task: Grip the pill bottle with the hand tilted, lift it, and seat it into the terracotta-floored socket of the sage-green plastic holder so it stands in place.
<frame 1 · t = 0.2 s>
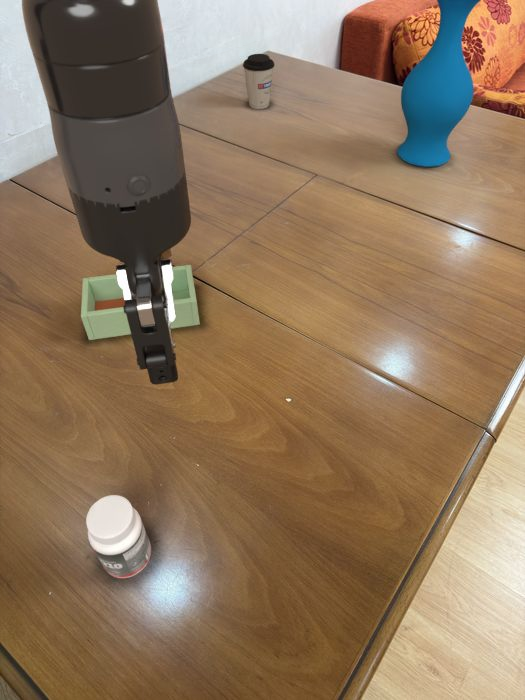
hand: (162, 342, 46), 18 cm above the table, tool pointing down, fingers open, 8 cm apart
holder: (143, 312, 76), on the table
vase: (422, 157, 106), on the table
coffee cup: (259, 105, 123), on the table
pill bottle: (127, 555, 52), on the table
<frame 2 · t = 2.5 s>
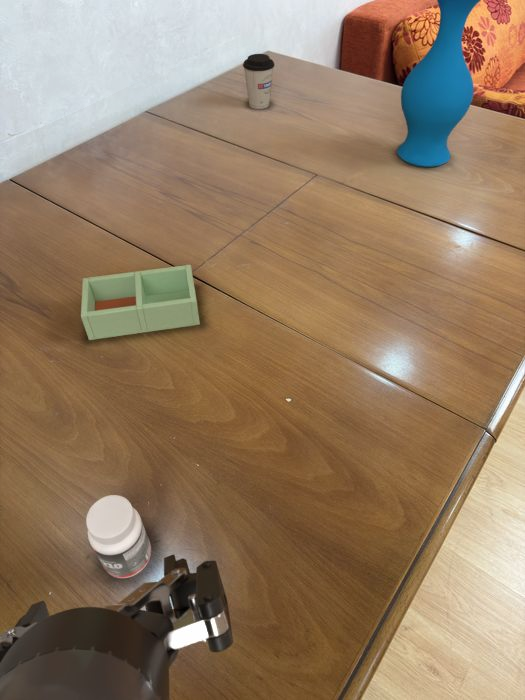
hand: (109, 592, 35), 15 cm above the table, tool tilted 40°, fingers open, 8 cm apart
nothing on the table moved.
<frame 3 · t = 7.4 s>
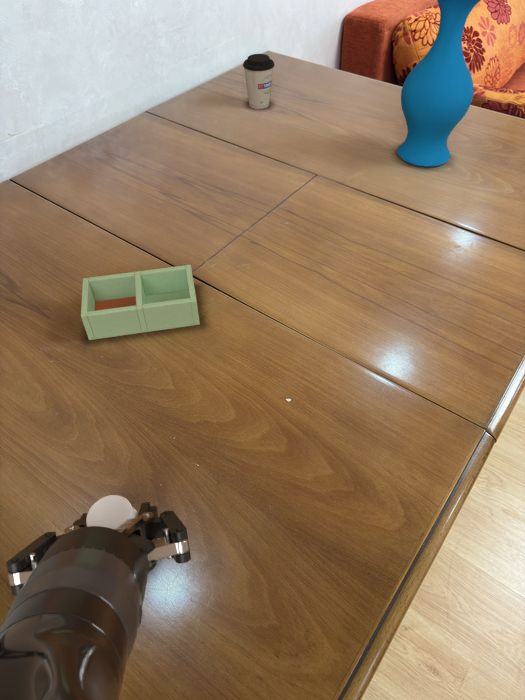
hand: (118, 517, 50), 4 cm above the table, tool tilted 45°, fingers closed on pill bottle, 4 cm apart
pill bottle: (127, 555, 52), on the table, touching gripper
everything else where it was.
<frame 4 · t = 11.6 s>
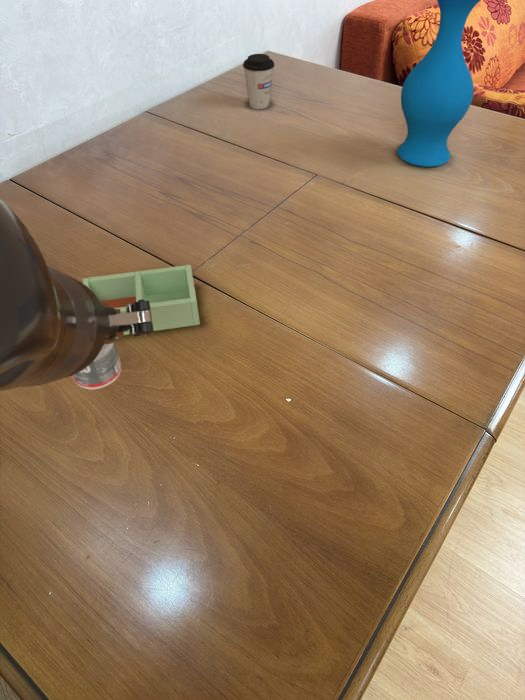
hand: (88, 329, 51), 16 cm above the table, tool tilted 45°, fingers closed on pill bottle, 4 cm apart
pill bottle: (98, 373, 53), point 12 cm above the table, touching gripper
everything else where it was.
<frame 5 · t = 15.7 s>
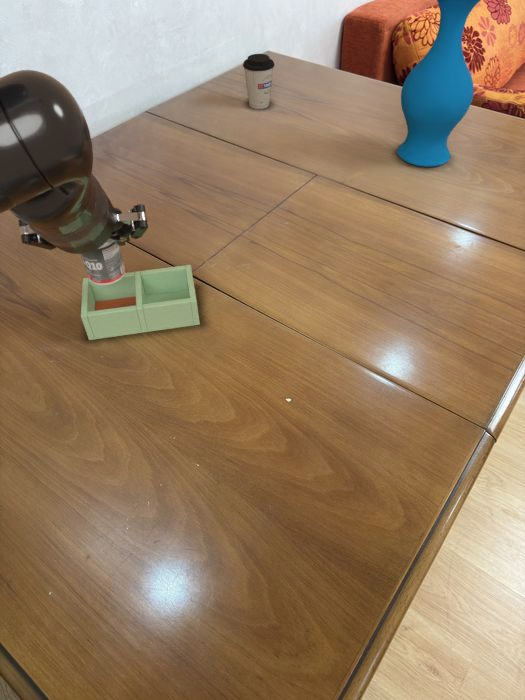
hand: (100, 240, 68), 12 cm above the table, tool tilted 45°, fingers closed on pill bottle, 4 cm apart
pill bottle: (107, 276, 70), point 7 cm above the table, touching gripper
everything else where it was.
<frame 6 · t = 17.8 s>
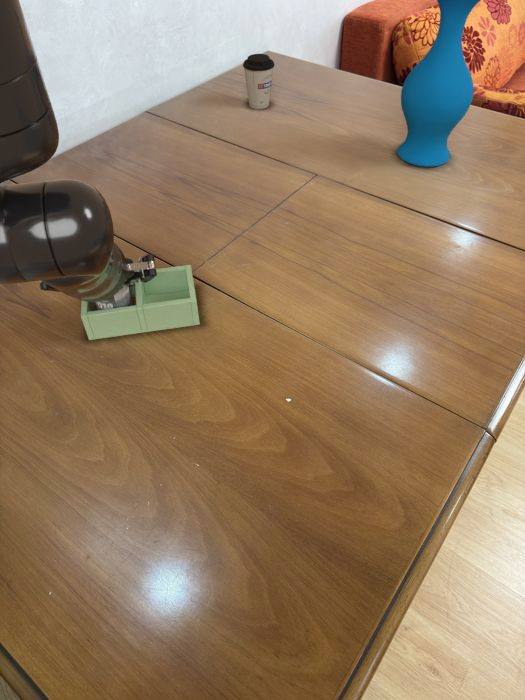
hand: (110, 281, 73), 5 cm above the table, tool tilted 45°, fingers closed on pill bottle, 4 cm apart
pill bottle: (117, 313, 74), point 1 cm above the table, touching gripper
everything else where it was.
when the fingers open (6 cm above the table, at t = 24.4 s): pill bottle drops 1 cm, resting on holder.
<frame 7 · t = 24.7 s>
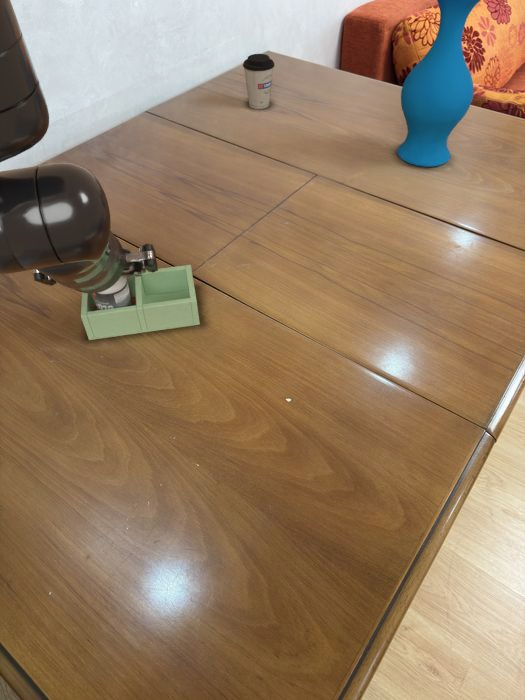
hand: (107, 272, 71), 7 cm above the table, tool tilted 45°, fingers open, 7 cm apart
pill bottle: (117, 315, 75), resting on holder
everything else where it was.
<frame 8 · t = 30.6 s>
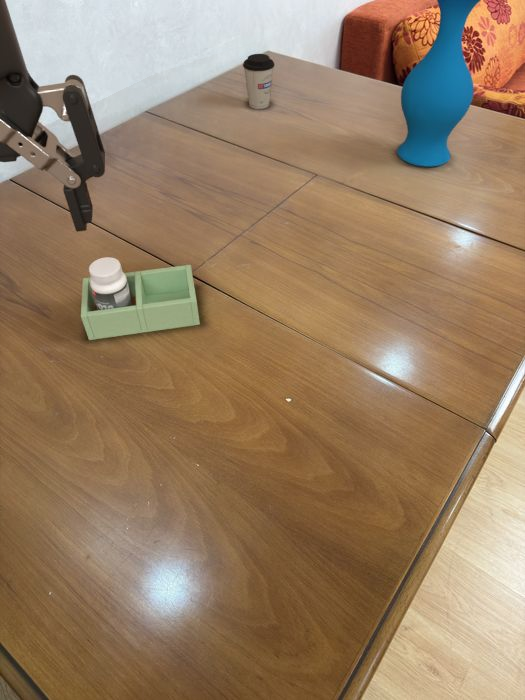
hand: (24, 232, 41), 28 cm above the table, tool pointing down, fingers open, 8 cm apart
nothing on the table moved.
at the end: pill bottle 0.2 cm from the target spot in the holder, point 0.4 cm above the holder's base; pill bottle tilted 0°; the gripper is holding nothing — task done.
